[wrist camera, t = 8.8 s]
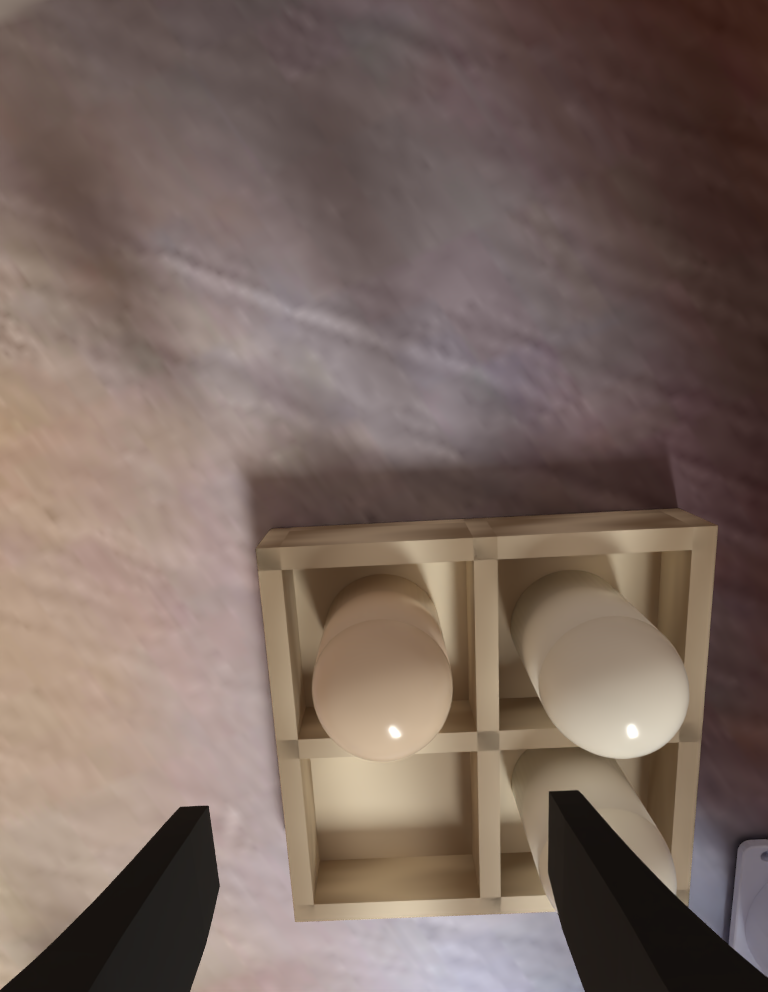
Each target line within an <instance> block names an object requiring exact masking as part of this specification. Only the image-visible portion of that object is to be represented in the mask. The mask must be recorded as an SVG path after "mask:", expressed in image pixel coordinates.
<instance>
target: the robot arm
mask: <svg viewBox="0 0 768 992" xmlns="http://www.w3.org/2000/svg"><path fill="white" fill-rule="evenodd" d="M548 875H549V879H550V883H551V887H552V891H553V895H554V899H555V903H556V907H557V911H558V915H559V918H560V922H561V926H562V930H563V932H564V935H565V938H566V941H567V944H568V946H569V949H570V952H571V955H572V958H573V960H574V963H575V966H576V969H577V971H578V974H579V977H580V980H581V982H582V985H583V988H584V991H585V992H768V839H759V840H747V841H744V842H742V843H741V844H740V846H739V848H738V853H737V863H736V874H735V884H734V894H733V904H732V914H731V924H730V934H729V945H728V944H727V943H726V942H725V941H724V940H723V939H722V938H720V937H719V936H718V935H717V934H716V933H715V932H714V931H713V930H712V929H711V928H709V927H708V926H707V925H706V924H705V923H704V922H703V921H702V920H701V919H700V918H699V917H698V916H697V915H696V914H694V913H693V912H692V911H691V910H690V909H689V908H688V907H687V906H686V905H685V904H684V903H683V902H682V901H681V900H680V899H679V898H678V897H677V896H676V895H675V894H674V893H673V892H672V891H671V890H670V889H669V888H668V887H667V886H666V885H665V884H664V883H663V882H662V881H661V880H660V879H659V878H658V877H657V876H656V875H655V874H654V873H653V872H652V871H651V870H650V869H649V868H648V867H647V866H646V865H645V863H644V862H643V861H642V860H641V859H640V858H639V857H638V856H637V855H636V854H635V853H634V852H633V851H632V850H631V849H630V848H629V846H628V845H627V844H626V843H625V842H624V841H623V840H622V839H621V838H620V837H619V835H618V834H617V833H616V832H615V831H614V830H613V829H612V828H611V826H610V825H609V824H608V823H607V822H606V821H605V820H604V818H603V817H602V816H601V815H600V814H599V813H598V812H597V810H596V809H595V808H594V807H593V806H592V805H591V803H590V802H589V801H588V800H587V799H586V798H585V796H584V795H583V794H582V793H581V792H580V791H579V790H567V791H549V818H548ZM219 887H220V884H219V877H218V870H217V863H216V856H215V848H214V841H213V834H212V827H211V820H210V812H209V806H189V807H180V808H179V809H178V810H177V811H176V812H175V813H174V814H173V815H172V816H171V817H170V818H169V819H168V821H167V822H166V823H165V824H164V825H163V826H162V827H161V828H160V829H159V831H158V832H157V833H156V834H155V835H154V836H153V837H152V838H151V840H150V841H149V842H148V843H147V844H146V845H145V846H144V847H143V849H142V850H141V851H140V852H139V853H138V854H137V855H136V856H135V857H134V859H133V860H132V861H131V862H130V863H129V864H128V865H127V866H126V867H125V868H124V870H123V871H122V872H121V873H120V874H119V875H118V876H117V877H116V878H115V879H114V880H113V881H112V882H111V884H110V885H109V886H108V887H107V888H106V889H105V890H104V891H103V892H102V893H101V894H100V895H99V896H98V897H97V898H96V900H95V901H94V902H93V903H92V904H91V905H90V906H89V907H88V908H87V909H86V910H85V911H84V912H83V913H82V914H81V915H80V916H79V917H78V918H77V919H76V920H75V921H74V922H73V923H72V924H71V925H70V926H69V927H68V928H67V929H66V930H65V931H64V932H63V933H62V934H61V935H60V936H59V937H58V938H57V939H56V940H55V941H54V942H53V943H52V944H51V945H50V946H48V947H47V948H46V949H45V950H44V951H43V952H42V953H41V954H40V955H39V956H38V957H37V958H36V959H35V960H33V961H32V962H31V963H30V964H29V965H28V966H27V967H26V968H25V969H23V970H22V971H21V972H20V973H19V974H18V975H17V976H16V977H14V978H13V979H12V980H11V981H10V982H9V983H8V984H6V985H5V986H4V987H3V988H2V989H1V990H0V992H190V990H191V987H192V984H193V981H194V978H195V975H196V972H197V969H198V966H199V963H200V961H201V958H202V955H203V952H204V949H205V946H206V942H207V938H208V934H209V930H210V926H211V922H212V918H213V913H214V909H215V905H216V900H217V896H218V891H219Z"/></svg>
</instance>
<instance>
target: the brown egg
mask: <svg viewBox="0 0 768 992" xmlns="http://www.w3.org/2000/svg"><path fill="white" fill-rule="evenodd" d="M312 696H313V703H314V708H315V711H316V714H317V717H318V719H319V721H320V723H321V725H322V727H323V728H324V730H325V732H326V733H327V734H328V736H329V737H330V738H331V739H332V740H333V741H334V742H335V743H336V744H337V745H338V746H339V747H340V748H342V749H343V750H345V751H346V752H348V753H350V754H352V755H353V756H355V757H358V758H361V759H364V760H368V761H373V762H392V761H397V760H401V759H404V758H407V757H409V756H411V755H413V754H415V753H417V752H418V751H420V750H422V749H423V748H424V747H426V746H427V745H428V744H429V743H430V742H431V741H432V740H433V739H434V738H435V737H436V735H437V734H438V733H439V731H440V730H441V728H442V727H443V725H444V723H445V721H446V719H447V716H448V713H449V710H450V707H451V702H452V696H453V681H452V672H451V668H450V664H449V659H448V655H447V651H446V646H445V642H444V638H443V633H442V629H441V625H440V620H439V616H438V612H437V609H436V607H435V605H434V603H433V601H432V599H431V598H430V597H429V595H428V594H427V593H426V592H425V591H424V590H423V589H422V588H421V587H419V586H418V585H417V584H415V583H414V582H412V581H410V580H408V579H406V578H403V577H400V576H396V575H390V574H375V575H369V576H365V577H362V578H360V579H357V580H355V581H353V582H352V583H350V584H349V585H347V586H346V587H345V588H343V589H342V590H341V591H340V592H339V593H338V595H337V596H336V597H335V599H334V600H333V602H332V603H331V606H330V608H329V610H328V614H327V617H326V621H325V626H324V630H323V634H322V638H321V642H320V646H319V651H318V655H317V659H316V663H315V667H314V672H313V679H312Z"/></svg>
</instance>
